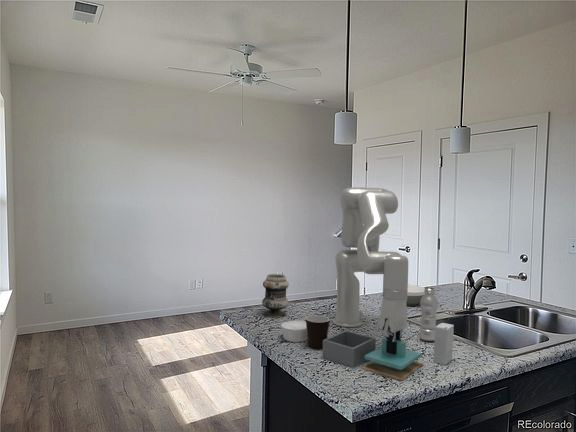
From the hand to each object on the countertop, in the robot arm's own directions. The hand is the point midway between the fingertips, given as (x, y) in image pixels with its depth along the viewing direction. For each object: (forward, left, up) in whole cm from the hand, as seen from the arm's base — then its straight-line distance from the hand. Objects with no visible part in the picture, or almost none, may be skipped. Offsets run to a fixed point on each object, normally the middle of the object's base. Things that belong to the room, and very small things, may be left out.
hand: (393, 351), depth 131 cm
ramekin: (0, -40, -5) cm, 40 cm away
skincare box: (-16, +10, -5) cm, 20 cm away
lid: (0, 0, -2) cm, 2 cm away
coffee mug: (0, -29, -5) cm, 30 cm away
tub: (+2, -15, -5) cm, 16 cm away
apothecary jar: (-18, -67, -5) cm, 70 cm away
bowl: (-81, -32, -5) cm, 87 cm away
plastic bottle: (-33, -2, -5) cm, 33 cm away
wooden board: (0, 0, -5) cm, 5 cm away
